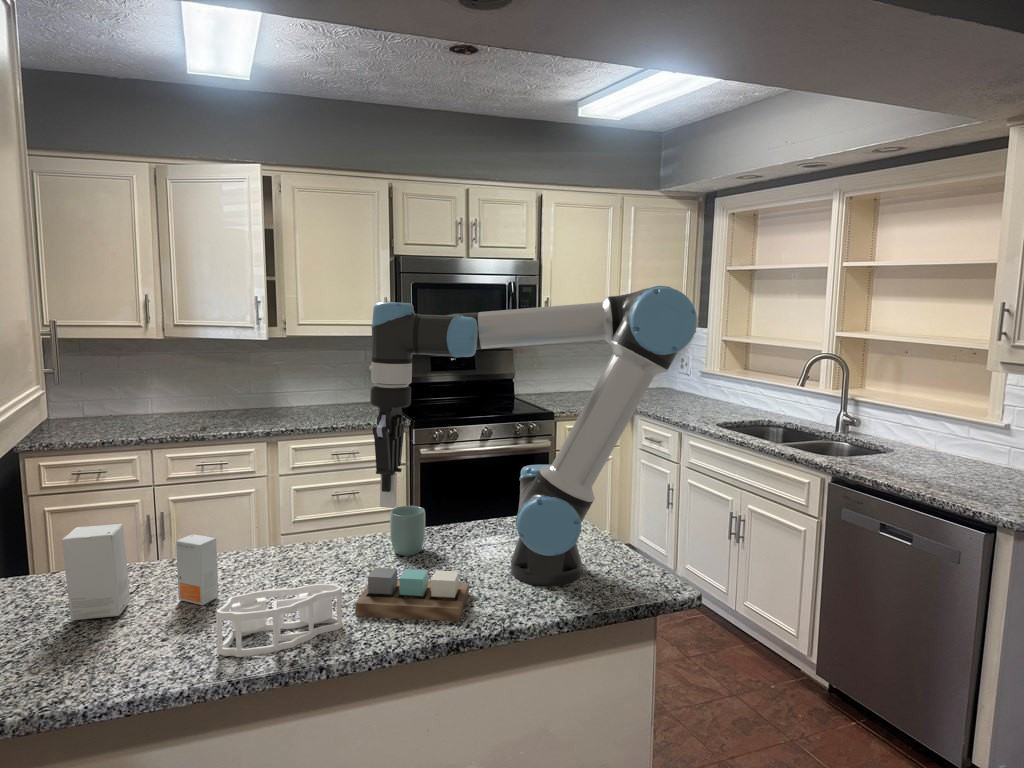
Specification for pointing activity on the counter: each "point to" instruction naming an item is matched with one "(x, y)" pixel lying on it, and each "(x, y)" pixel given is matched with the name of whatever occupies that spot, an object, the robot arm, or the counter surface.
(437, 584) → the key
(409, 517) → the cup
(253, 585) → the counter surface
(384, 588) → the key
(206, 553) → the skincare box
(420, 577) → the key
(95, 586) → the skincare box
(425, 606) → the keypad
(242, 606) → the car outline toy
